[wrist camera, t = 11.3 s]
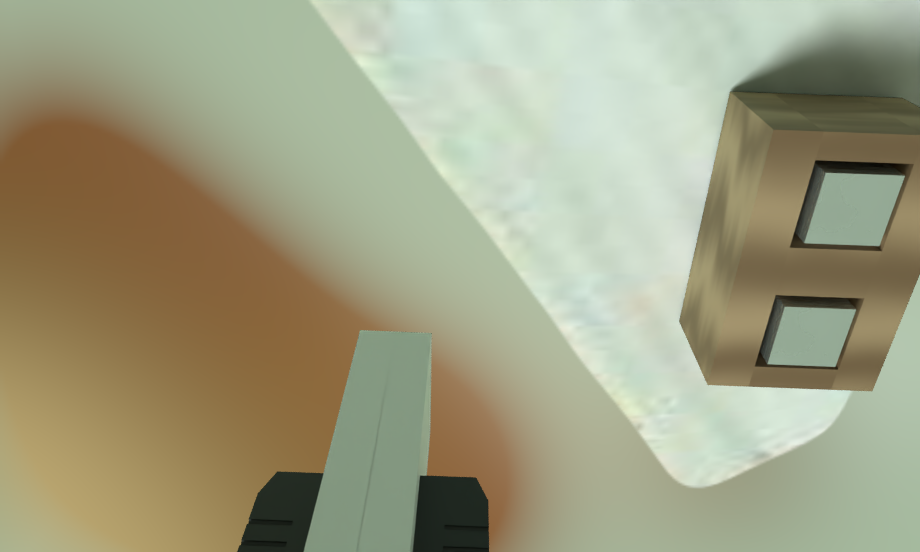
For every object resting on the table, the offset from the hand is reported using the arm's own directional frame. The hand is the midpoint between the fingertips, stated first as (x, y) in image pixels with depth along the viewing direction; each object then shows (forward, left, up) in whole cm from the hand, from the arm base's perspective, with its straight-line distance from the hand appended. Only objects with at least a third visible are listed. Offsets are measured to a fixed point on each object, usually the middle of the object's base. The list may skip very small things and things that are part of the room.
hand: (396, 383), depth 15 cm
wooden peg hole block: (+9, +22, -29) cm, 38 cm away
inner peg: (+5, +21, -28) cm, 36 cm away
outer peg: (+13, +22, -28) cm, 38 cm away
